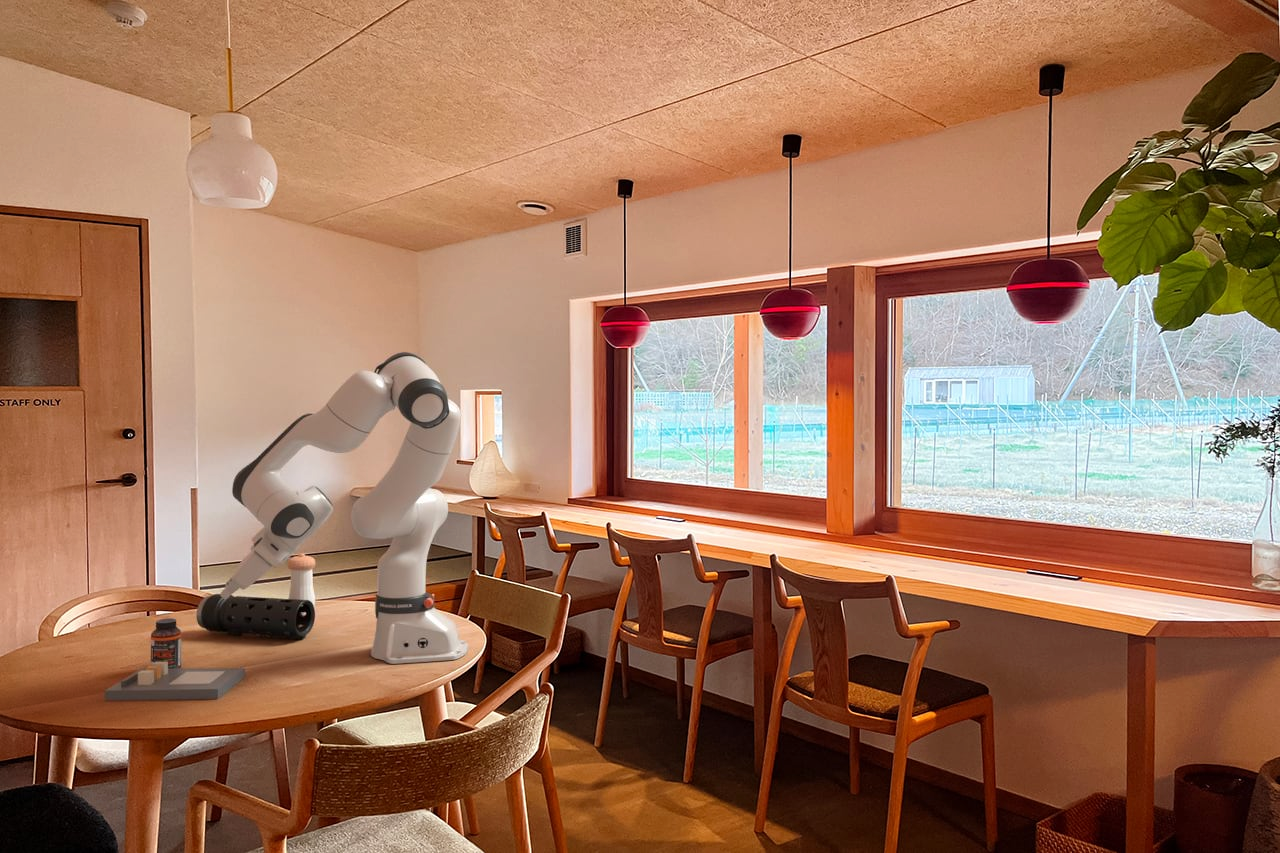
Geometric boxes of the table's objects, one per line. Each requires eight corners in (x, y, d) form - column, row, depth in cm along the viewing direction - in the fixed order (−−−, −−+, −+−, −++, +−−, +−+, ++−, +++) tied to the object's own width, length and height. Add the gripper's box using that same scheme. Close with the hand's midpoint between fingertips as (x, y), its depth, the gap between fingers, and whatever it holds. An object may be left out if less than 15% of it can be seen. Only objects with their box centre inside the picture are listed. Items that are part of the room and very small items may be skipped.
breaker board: (245, 676, 191) (244, 656, 191) (217, 698, 178) (217, 676, 177) (140, 678, 190) (140, 657, 190) (105, 700, 176) (104, 678, 176)
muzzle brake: (294, 645, 216) (294, 603, 216) (194, 638, 222) (193, 597, 222) (316, 635, 226) (315, 595, 225) (219, 629, 231) (219, 589, 231)
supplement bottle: (150, 676, 191) (149, 624, 191) (151, 669, 197) (150, 618, 196) (181, 672, 194) (180, 621, 194) (181, 665, 199) (180, 615, 199)
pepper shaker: (314, 627, 233) (314, 555, 232) (285, 629, 231) (284, 556, 230) (318, 620, 240) (317, 550, 239) (289, 622, 238) (289, 551, 237)
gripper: (264, 530, 209) (219, 573, 206) (258, 544, 190) (208, 592, 187) (285, 548, 211) (240, 591, 208) (280, 564, 191) (231, 611, 189)
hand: (225, 592), depth 197 cm, fingers open, 8 cm apart
